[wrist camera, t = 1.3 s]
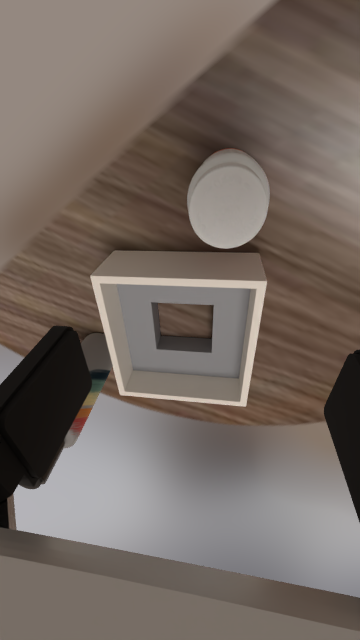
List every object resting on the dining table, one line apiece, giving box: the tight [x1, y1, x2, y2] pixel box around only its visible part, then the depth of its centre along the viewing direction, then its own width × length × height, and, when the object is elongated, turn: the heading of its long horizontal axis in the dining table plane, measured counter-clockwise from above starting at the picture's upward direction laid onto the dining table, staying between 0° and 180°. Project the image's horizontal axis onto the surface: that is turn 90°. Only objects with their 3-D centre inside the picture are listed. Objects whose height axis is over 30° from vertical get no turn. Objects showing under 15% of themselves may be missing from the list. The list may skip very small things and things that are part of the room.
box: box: [90, 250, 267, 407], centre depth 33 cm, size 17×18×7 cm
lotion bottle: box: [21, 333, 113, 489], centre depth 34 cm, size 6×6×20 cm
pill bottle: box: [187, 148, 270, 249], centre depth 22 cm, size 6×6×11 cm
